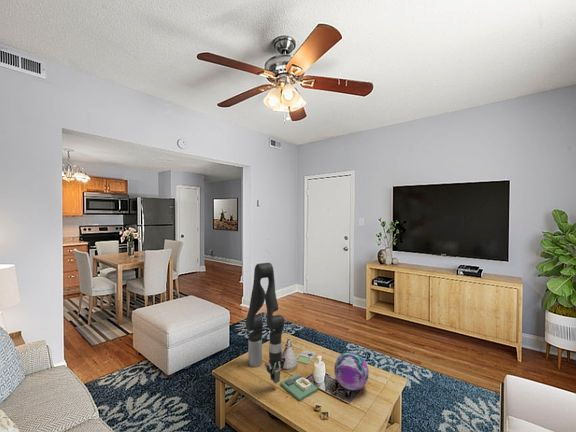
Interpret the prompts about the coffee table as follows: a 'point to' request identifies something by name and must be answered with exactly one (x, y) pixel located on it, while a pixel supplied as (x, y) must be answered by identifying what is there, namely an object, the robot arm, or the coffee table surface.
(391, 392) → the coffee table surface
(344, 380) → the decorative sphere
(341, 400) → the coffee table surface
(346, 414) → the coffee table surface
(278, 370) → the plug
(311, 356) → the handheld gaming console
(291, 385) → the header board
